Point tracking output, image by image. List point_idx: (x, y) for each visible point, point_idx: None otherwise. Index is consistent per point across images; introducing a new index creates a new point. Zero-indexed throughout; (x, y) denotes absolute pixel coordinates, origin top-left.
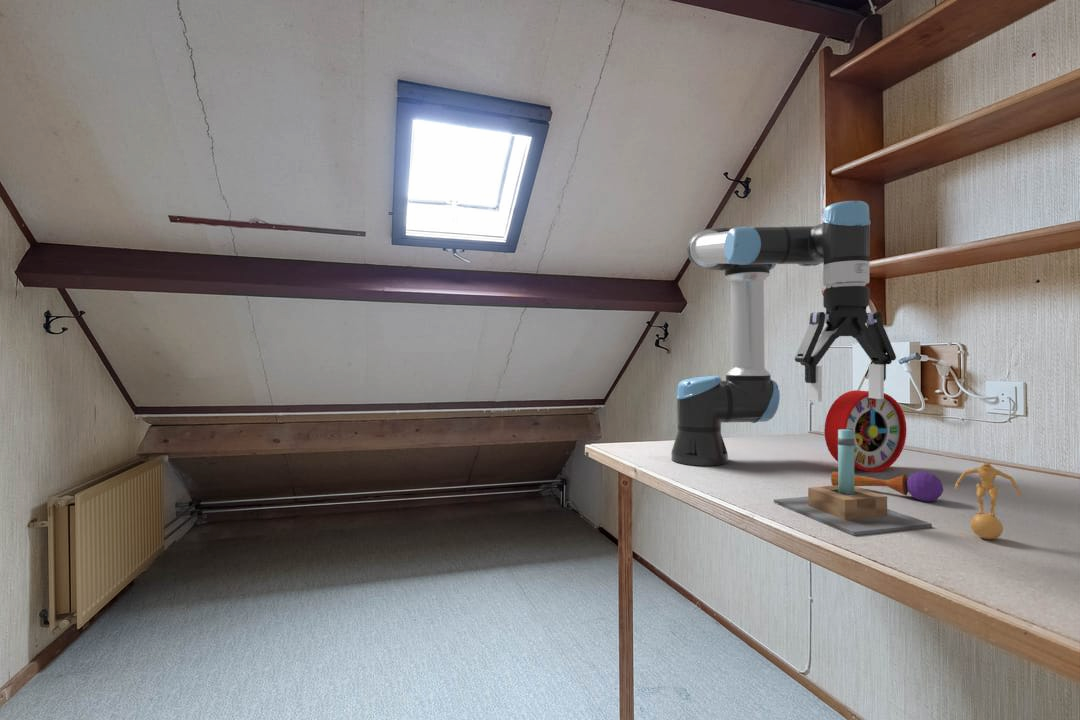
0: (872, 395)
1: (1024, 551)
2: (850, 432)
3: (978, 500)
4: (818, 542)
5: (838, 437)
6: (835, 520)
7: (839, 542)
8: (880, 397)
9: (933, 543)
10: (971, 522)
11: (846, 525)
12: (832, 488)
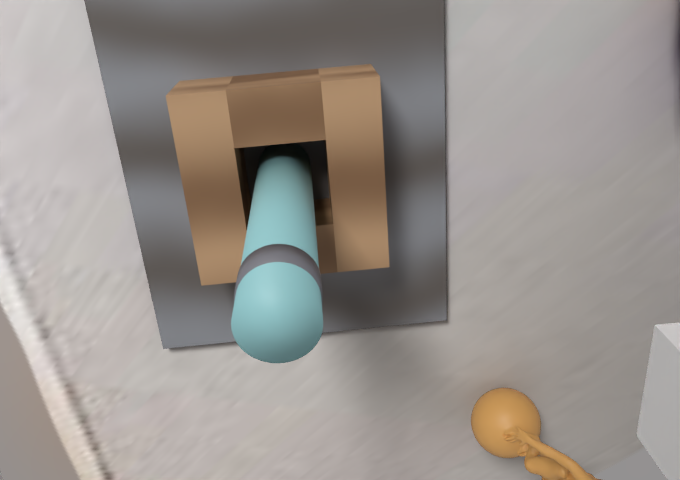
0: (664, 378)
1: (490, 469)
2: (274, 359)
3: (527, 452)
4: (34, 371)
5: (237, 288)
6: (174, 254)
7: (94, 377)
8: (644, 445)
9: (334, 410)
10: (480, 414)
11: (179, 299)
12: (264, 128)
